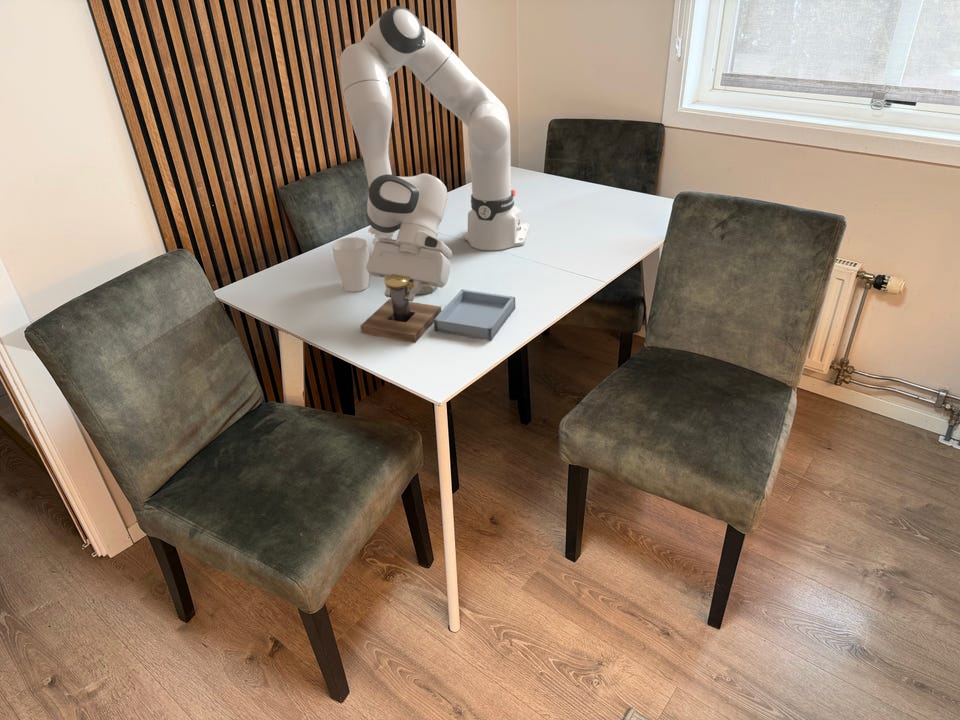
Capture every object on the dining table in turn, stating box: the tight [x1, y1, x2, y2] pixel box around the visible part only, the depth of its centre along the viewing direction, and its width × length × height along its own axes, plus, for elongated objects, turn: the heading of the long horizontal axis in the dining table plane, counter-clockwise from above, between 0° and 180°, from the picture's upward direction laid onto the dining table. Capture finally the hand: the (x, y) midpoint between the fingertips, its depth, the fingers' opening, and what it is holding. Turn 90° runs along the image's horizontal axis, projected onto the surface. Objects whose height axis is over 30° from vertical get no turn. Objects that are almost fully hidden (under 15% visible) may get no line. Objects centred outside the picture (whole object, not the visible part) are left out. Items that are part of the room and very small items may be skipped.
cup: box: [331, 236, 370, 293], centre depth 172 cm, size 9×9×12 cm
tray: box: [433, 289, 516, 341], centre depth 157 cm, size 16×14×3 cm
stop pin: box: [384, 274, 411, 322], centre depth 154 cm, size 6×6×11 cm
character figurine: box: [367, 225, 396, 253], centre depth 187 cm, size 9×10×12 cm
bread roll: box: [407, 282, 438, 296], centre depth 173 cm, size 8×9×4 cm
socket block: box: [360, 298, 442, 343], centre depth 157 cm, size 14×14×2 cm
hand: (398, 298), depth 153 cm, fingers closed on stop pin, 4 cm apart
